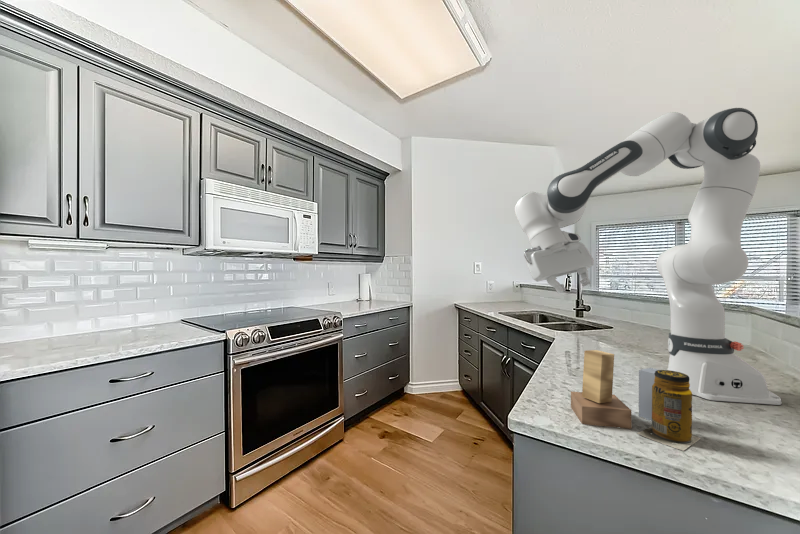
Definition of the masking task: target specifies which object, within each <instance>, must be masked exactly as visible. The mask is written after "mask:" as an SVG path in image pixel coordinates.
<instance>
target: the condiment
mask: <svg viewBox="0 0 800 534" xmlns="http://www.w3.org/2000/svg"><path fill="white" fill-rule="evenodd" d="M654 374H655V379H654V384H653V385H652V421H651V425H650V426H649V427H647V428H644V429H643V430H640V431H638V432H636V434H637V435H639V436H641V437H644V438H646V439H648V440H652V441H654V442H656V443H659V444H662V445H665V446H668V447H670V448H674V449H677V450H680V451H683V452H685V450H687V449H688V448H689V447H691V446H693V445H695V444H696V443H697V442H698V441H699V440H701V437H699V436H695V435H693V429H692V428H693V426H692V425H693V394H692V392H691V390H690V389H689V387H690V383H689V380H690V379H689V376H688V375H686V374H684V373H680V372H676V371H671V370H667V369H657V371H655V373H654Z"/></svg>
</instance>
